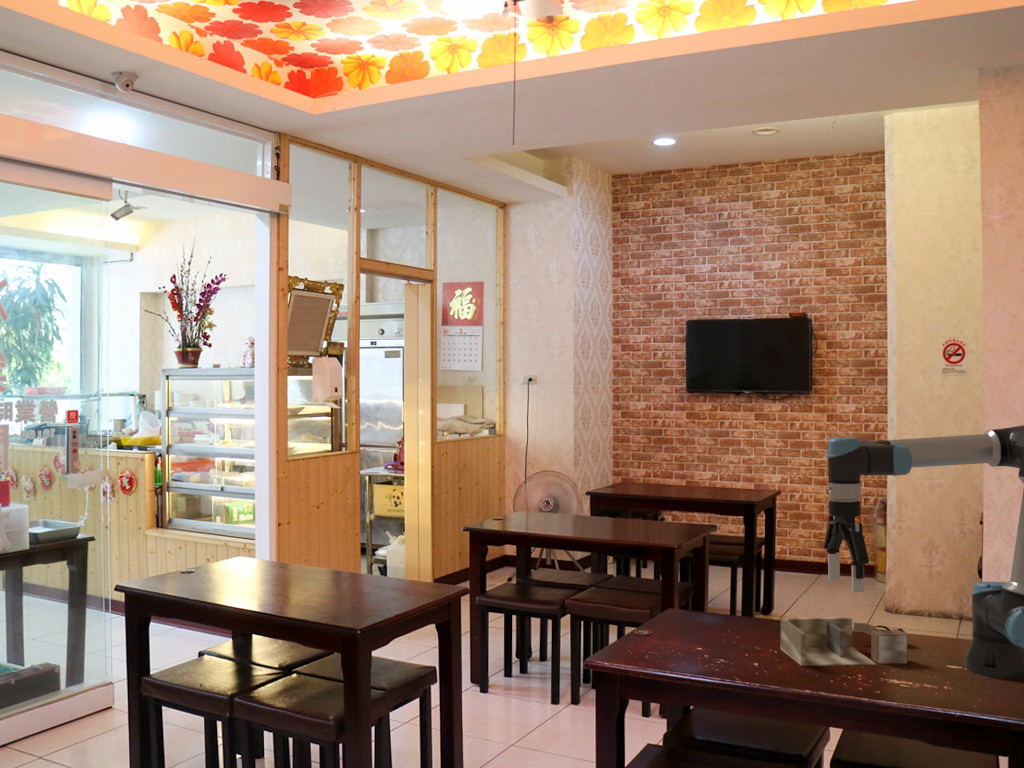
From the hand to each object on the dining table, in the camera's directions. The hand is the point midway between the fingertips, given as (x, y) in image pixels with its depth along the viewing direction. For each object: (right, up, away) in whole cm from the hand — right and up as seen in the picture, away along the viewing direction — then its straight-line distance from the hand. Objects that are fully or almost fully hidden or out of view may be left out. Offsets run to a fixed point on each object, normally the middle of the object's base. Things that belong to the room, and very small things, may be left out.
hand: (845, 585), depth 224 cm
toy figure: (+15, -21, +37) cm, 45 cm away
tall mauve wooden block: (+19, -25, +19) cm, 36 cm away
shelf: (+3, -25, +22) cm, 33 cm away
